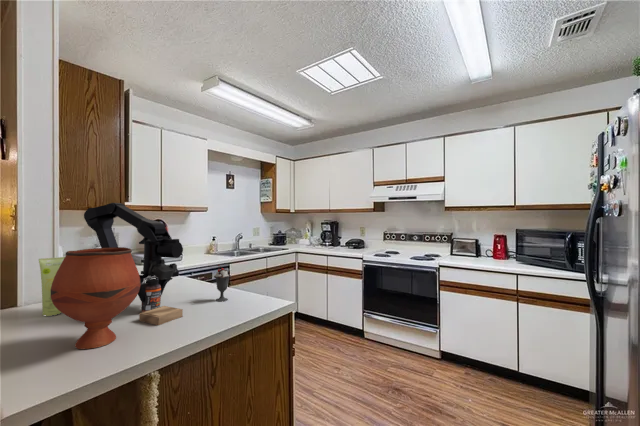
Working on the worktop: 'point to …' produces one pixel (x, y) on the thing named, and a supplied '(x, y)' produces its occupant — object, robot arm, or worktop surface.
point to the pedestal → (160, 315)
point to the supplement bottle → (151, 295)
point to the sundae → (222, 282)
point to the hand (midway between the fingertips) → (151, 299)
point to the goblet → (95, 290)
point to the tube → (49, 283)
